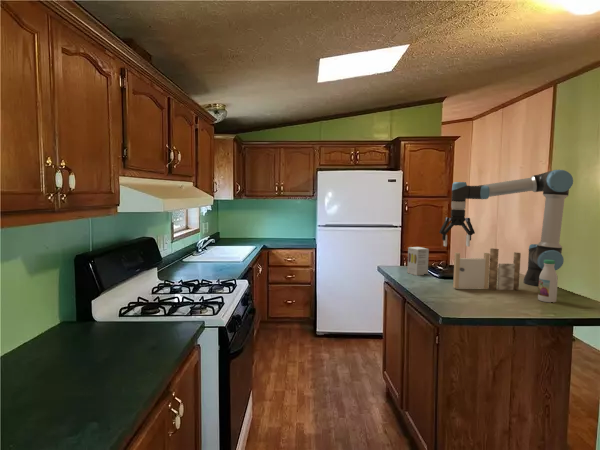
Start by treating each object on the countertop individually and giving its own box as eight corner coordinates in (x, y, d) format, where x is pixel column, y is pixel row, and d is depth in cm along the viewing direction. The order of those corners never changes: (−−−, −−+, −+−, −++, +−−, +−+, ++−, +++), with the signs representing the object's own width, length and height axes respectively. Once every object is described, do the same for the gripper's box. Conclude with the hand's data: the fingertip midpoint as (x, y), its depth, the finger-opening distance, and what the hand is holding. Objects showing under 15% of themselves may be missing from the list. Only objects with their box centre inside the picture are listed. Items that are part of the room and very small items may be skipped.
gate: (485, 287, 218) (487, 253, 217) (489, 289, 214) (491, 254, 212) (453, 287, 218) (454, 252, 216) (456, 289, 213) (457, 253, 212)
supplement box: (406, 272, 259) (407, 247, 258) (417, 271, 263) (418, 246, 262) (416, 275, 251) (417, 249, 249) (428, 274, 255) (429, 248, 253)
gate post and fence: (516, 288, 219) (518, 248, 218) (520, 290, 215) (522, 249, 214) (487, 288, 219) (489, 248, 217) (490, 290, 215) (492, 249, 213)
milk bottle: (551, 299, 198) (553, 259, 196) (559, 303, 190) (562, 261, 189) (534, 298, 199) (537, 258, 197) (542, 302, 191) (545, 261, 189)
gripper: (475, 209, 233) (473, 245, 235) (434, 208, 231) (432, 245, 232) (482, 209, 226) (480, 247, 227) (440, 209, 223) (438, 246, 225)
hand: (456, 246), depth 230 cm, fingers open, 13 cm apart
